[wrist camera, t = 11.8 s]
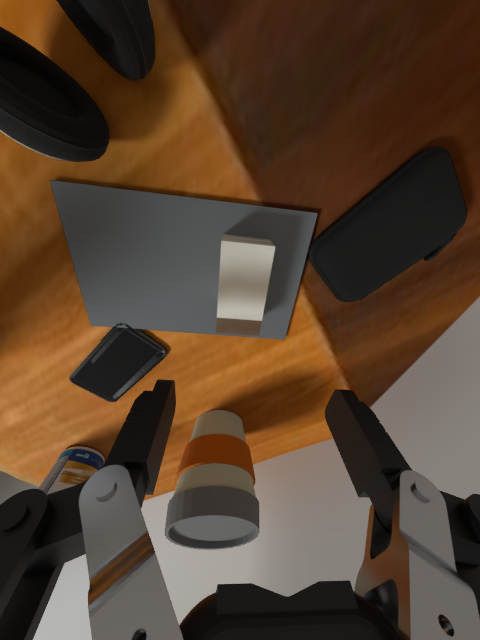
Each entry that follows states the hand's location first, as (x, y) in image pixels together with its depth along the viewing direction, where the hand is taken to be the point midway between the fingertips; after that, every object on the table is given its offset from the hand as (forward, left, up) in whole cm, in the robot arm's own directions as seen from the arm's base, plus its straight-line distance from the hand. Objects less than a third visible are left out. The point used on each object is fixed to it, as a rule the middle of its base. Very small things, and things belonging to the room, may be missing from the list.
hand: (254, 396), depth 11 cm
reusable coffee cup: (-1, -29, -18) cm, 34 cm away
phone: (-17, -15, -18) cm, 29 cm away
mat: (-6, 0, -18) cm, 19 cm away
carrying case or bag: (+15, +6, -18) cm, 24 cm away
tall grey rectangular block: (0, 0, -17) cm, 17 cm away
